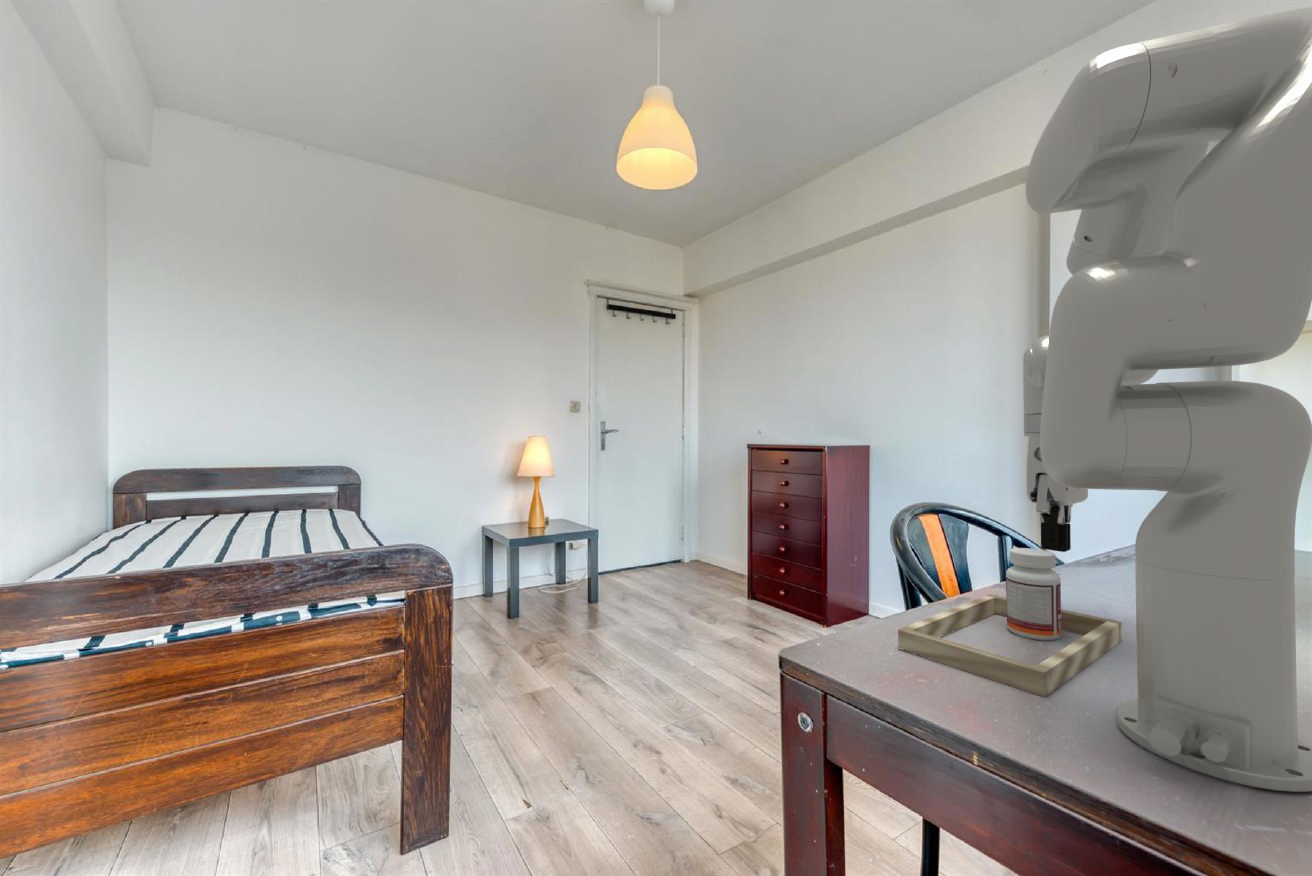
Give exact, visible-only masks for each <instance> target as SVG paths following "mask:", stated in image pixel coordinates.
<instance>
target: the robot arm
mask: <svg viewBox="0 0 1312 876" xmlns="http://www.w3.org/2000/svg"><path fill="white" fill-rule="evenodd" d="M1041 133H1042V134H1041V135H1040V137H1039V139H1038V142H1037V143H1036V145H1035V148H1034V150H1033V153H1032V156H1031V159H1030V162H1029V166H1028V170H1027V173H1026V180H1025V195H1026V202H1027V205H1028V206H1029V208H1030V209H1031V210H1032V211H1034V213H1035V212H1036V213H1038V214H1044V215H1045V214H1046V215H1047V214H1056V213H1061V212H1062V213H1063V212H1064V213H1065V212H1071V211H1072V212H1073V211H1079V210H1081V211H1080V214H1079V218H1078V221H1077V223H1076V224H1077V225H1076V228H1075V231H1074V234H1073V237H1072V239H1071V244H1070V247H1069V250H1068V253H1067V257H1066V261H1065V262H1066V267H1067V269H1068V271H1069V273H1070V274H1071V275H1072V276H1071V277H1069V278H1068V280H1067V281H1066V283H1064V285H1063V287H1062V288H1061V290H1060V292H1059V294H1058V296H1057V298H1056V301H1055V304H1054V307H1053V309H1052V314H1051V319H1050V325H1049V326H1050V327H1049V334H1046V335H1044V336H1041V337H1039V338H1037V339H1036V340H1035V341H1033V343H1032V344H1031V346H1029V347H1028V348H1026V350H1025V351H1024V353H1023V359H1022V363H1023V364H1022V371H1023V372H1022V375H1023V377H1022V378H1023V380H1022V382H1023V383H1022V384H1023V437H1028V444H1027V455H1026V457H1027V458H1026V493H1027V494H1026V496H1027V499H1028V500H1029V501H1030V502H1031V503H1034V504H1035V503H1036V507H1035V510H1036V513H1038V514H1039V520H1040V547H1041V550H1045V551H1053V552H1061V553H1066V552H1068V551H1070V550H1071V548H1072V547H1071V537H1072V536H1071V521H1072V520H1071V519H1072V508H1073V505H1075V504H1078V503H1082V502H1084V501H1086V500H1087V499H1088V497H1089V489H1090V490H1115V491H1117V490H1118V491H1119V490H1122V491H1123V490H1125V491H1129V490H1130V491H1158V492H1166V493H1165V494H1164V495H1163V497H1161V499H1160V501H1158V502H1157V503H1156V505H1155V506H1154V507H1153V508H1152V509H1151V510H1150V512H1148V514H1147V515H1146V517H1145V518H1144V519H1143V521H1142V522H1141V524H1140V525H1139V528H1138V531H1137V534H1136V538H1135V546H1134V547H1135V550H1134V551H1135V553H1134V554H1135V557H1134V559H1135V560H1134V563H1135V569H1134V570H1135V612H1136V613H1135V616H1136V617H1135V619H1136V620H1135V621H1136V623H1135V625H1136V626H1135V627H1136V628H1135V629H1136V676H1137V677H1136V678H1137V679H1136V680H1137V681H1136V682H1137V699H1135V698H1134V699H1130V700H1126V701H1124V702H1121V703H1119V705H1118V706H1117V707H1116V709H1115V719H1116V724H1117V725H1118V727H1119V728H1120V730H1121V731H1122V732H1123V733H1124V734H1125V735H1126V736H1128V737H1129V739H1131V740H1132V741H1134V742H1135V743H1136V744H1138V745H1140V747H1143V748H1144V749H1147V750H1148V751H1150V752H1151V753H1153V754H1155V755H1158V756H1160V757H1162V758H1163V759H1165V760H1168V761H1170V762H1173V763H1175V764H1176V765H1180V766H1183V767H1185V768H1186V769H1187V768H1188V769H1190V770H1193V771H1196V772H1198V773H1202V774H1204V775H1208V776H1210V777H1213V778H1217V779H1220V780H1225V781H1227V782H1231V783H1236V784H1239V785H1244V786H1249V787H1253V788H1257V789H1264V790H1270V791H1277V792H1278V791H1279V792H1291V793H1293V792H1294V793H1299V792H1312V747H1310V745H1308V744H1306V743H1305V742H1302V740H1299V739H1298V737H1299V735H1298V734H1299V733H1298V698H1297V697H1298V696H1297V695H1298V692H1297V689H1298V688H1297V645H1296V643H1297V642H1296V638H1297V637H1296V602H1295V601H1296V599H1295V598H1296V595H1295V594H1296V593H1295V590H1296V588H1295V587H1296V586H1295V577H1296V569H1295V568H1296V567H1295V566H1296V565H1295V556H1296V555H1295V551H1296V549H1295V543H1296V542H1295V541H1296V540H1295V536H1296V534H1295V533H1296V520H1297V510H1298V504H1299V502H1298V501H1299V496H1300V491H1301V486H1302V483H1303V479H1304V475H1305V471H1306V470H1307V469H1306V468H1307V464H1308V461H1309V459H1310V455H1311V451H1312V450H1311V449H1312V420H1311V417H1310V414H1309V413H1308V411H1307V409H1306V408H1305V407H1304V405H1303V404H1302V402H1301V401H1299V400H1298V399H1297V398H1296V397H1294V396H1293V395H1292V394H1290V393H1289V392H1286V391H1285V390H1283V389H1280V388H1277V387H1274V386H1271V385H1269V384H1268V385H1267V384H1264V383H1259V382H1252V381H1251V382H1249V381H1241V380H1239V381H1238V380H1204V381H1203V380H1202V381H1201V380H1200V381H1197V380H1196V381H1175V382H1174V381H1173V382H1172V381H1169V382H1168V381H1167V382H1156V383H1146V382H1148V381H1150V380H1151V379H1152V378H1153V377H1154V376H1155V375H1156V374H1157V373H1158V371H1160V370H1180V369H1182V370H1183V369H1204V368H1205V369H1206V368H1220V367H1221V368H1222V367H1233V366H1243V365H1251V364H1256V363H1261V362H1265V361H1269V360H1272V359H1274V358H1277V357H1279V356H1281V355H1283V354H1285V353H1286V352H1288V351H1289V350H1290V349H1291V348H1292V347H1293V346H1294V345H1295V343H1296V342H1297V341H1298V340H1299V338H1300V336H1301V334H1302V332H1303V330H1304V329H1305V326H1306V322H1307V319H1308V316H1309V312H1310V310H1311V305H1312V7H1311V6H1310V7H1303V8H1298V9H1292V10H1291V9H1290V10H1286V11H1280V12H1275V13H1268V14H1265V15H1264V14H1263V15H1259V16H1255V17H1254V16H1253V17H1249V18H1244V19H1239V20H1235V21H1231V22H1230V21H1229V22H1225V23H1221V24H1217V25H1213V26H1208V27H1205V28H1200V29H1196V30H1192V31H1191V30H1190V31H1186V32H1182V33H1177V34H1171V35H1168V36H1167V35H1166V36H1162V37H1157V38H1152V39H1147V40H1142V41H1138V42H1134V43H1129V44H1125V45H1122V46H1118V47H1115V48H1112V49H1110V50H1106V51H1104V52H1103V53H1101V54H1099V55H1096V56H1095V57H1094V58H1092V59H1091V60H1089V62H1087V63H1086V64H1085V65H1084V66H1083V67H1082V69H1081V70H1079V72H1078V73H1077V75H1076V76H1075V77H1074V78H1073V81H1071V83H1070V84H1069V86H1068V89H1067V90H1066V92H1065V94H1064V95H1063V97H1062V99H1061V101H1060V102H1059V104H1058V105H1057V107H1056V108H1055V110H1054V112H1053V114H1052V115H1051V118H1050V119H1049V121H1048V122H1047V124H1046V126H1045V127H1044V129H1043V131H1042V132H1041ZM1212 142H1218V143H1217V144H1216V145H1215V146H1213V148H1212V149H1211V150H1210V151H1209V152H1208V149H1209V146H1210V143H1212ZM1207 152H1208V153H1207ZM1145 383H1146V384H1145Z"/></svg>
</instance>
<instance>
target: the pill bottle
mask: <svg viewBox="0 0 1312 876" xmlns="http://www.w3.org/2000/svg"><path fill="white" fill-rule="evenodd" d="M1009 562H1010V564H1012V566H1010V567H1009V568H1007V570H1006V571H1005V573H1006V574H1005V591H1006V592H1005V598H1006V606H1007V617H1006V627H1007V629H1008V630H1009V631H1010V632H1011V633H1013V634H1015V635H1017V636H1019V637H1022V638H1025V639H1030V640H1036V641H1037V640H1038V641H1055V640H1059V639H1060V638H1061V636H1062V629H1061V609H1062V603H1061V602H1062V601H1061V599H1062V592H1061V591H1062V590H1061V586H1062V585H1061V583H1062V582H1061V578H1060V575H1059V573H1057V572H1056V571H1055V570H1053V569H1054V568H1056V566H1057V565H1056V563H1057V562H1056V554H1055V553H1054V551H1053V552H1052V551H1051V550H1046V549H1038V548H1032V547H1031V548H1029V547H1027V548H1026V547H1016V548H1015V547H1013V548H1011V549H1010V550H1009Z"/></svg>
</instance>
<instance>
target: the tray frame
mask: <svg viewBox="0 0 1312 876" xmlns="http://www.w3.org/2000/svg"><path fill="white" fill-rule="evenodd" d="M994 613H995V614H994ZM989 615H991V616H993V615H999V616H1002V615H1003V617H1006V618H1007V606H1006V596H999V595H995V594H986V595H984V596H982V597H978V598H977V599H974V600H971V601H969V602H966V603H963V604H961V605H959V606H955V607H953V608H951V609H947V610H945V611H942V612H939V613H937V614H935V615H932V616H928V617H927V618H924V619H922V620H919V621H916V622H914V623H911V624H909V625H905V626H904V627H901V628H898V629H897V639H898V640H897V644H898V645H897V647H899V648H902V649H904V650H907V651H909V652H912V653H916V654H918V655H922V656H925V657H927V658H926V659H928V658H931V659H934V660H935V661H934V660H933V661H934V662H937V661H939V662H938V663H940V662H941V663H940V664H943V663H945V664H944V665H946V664H947V665H946V666H949V667H952V666H953V667H952V668H955V669H958V670H961V671H965V672H967V673H970V674H974V675H977V676H979V677H983V678H986V679H989V680H992V681H994V682H999V683H1000V684H1005V685H1007V686H1010V687H1013V688H1016V689H1020V690H1023V691H1026V692H1029V693H1032V694H1035V695H1038V696H1041V697H1044V698H1045V697H1046V696H1048V695H1050V694H1051V693H1052V692H1054V691H1055V690H1056V689H1057V688H1059V687H1060V686H1062V685H1063V684H1065V683H1066V682H1067V681H1069V680H1070V679H1072V678H1073V677H1074V676H1076V675H1077V674H1079V673H1080V672H1081V671H1083V670H1084V669H1085V668H1086V667H1088V666H1090V665H1091V664H1092V663H1094V662H1095V661H1096V660H1097V659H1099V658H1100V657H1102V656H1103V655H1105V654H1106V653H1107V652H1109V651H1110V650H1111V649H1113V648H1115V646H1117V645H1118V644H1119V643H1121V642H1122V641H1123V639H1122V636H1123V635H1122V632H1123V631H1122V628H1123V626H1122V621H1119V620H1114V619H1109V618H1105V617H1099V616H1095V615H1090V614H1085V613H1079V612H1075V611H1071V610H1067V609H1066V610H1065V609H1062V608H1061V631H1062V630H1063V631H1067V632H1071V633H1075V634H1079V635H1083V636H1081V637H1080V638H1078V639H1076V640H1075V641H1073V642H1072V643H1070V644H1068V645H1067V646H1065V647H1063V648H1061V650H1059V651H1057V652H1056V653H1054V654H1052V655H1050V656H1049V657H1048V658H1046V659H1045V660H1042V661H1041V662H1040V663H1038V664H1037V665H1034V664H1029V663H1027V662H1024V661H1019V660H1016V659H1013V658H1010V657H1006V656H1002V655H999V654H996V653H992V652H990V651H986V650H982V649H978V648H975V647H972V646H967V645H965V644H962V643H957V642H955V641H951V640H948V639H944V638H942V637H940V636H943V635H945V634H947V635H949V634H948V633H950V634H952V633H953V632H952V631H954V632H956V631H959V630H961V629H963V628H965V626H966V627H968V626H970V625H972V624H974V623H977V622H979V621H982V620H984V619H985V617H986V618H989V617H990V616H989ZM988 616H989V617H988ZM983 618H984V619H983ZM981 619H982V620H981ZM978 620H979V621H978ZM967 625H968V626H967ZM960 628H961V629H960ZM958 629H959V630H958ZM951 632H952V633H951ZM945 636H946V635H945ZM938 637H940V638H938ZM943 637H944V636H943ZM909 652H908V653H909ZM912 653H911V654H912ZM918 655H917V656H918ZM925 657H924V658H925ZM931 659H930V660H931Z"/></svg>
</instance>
